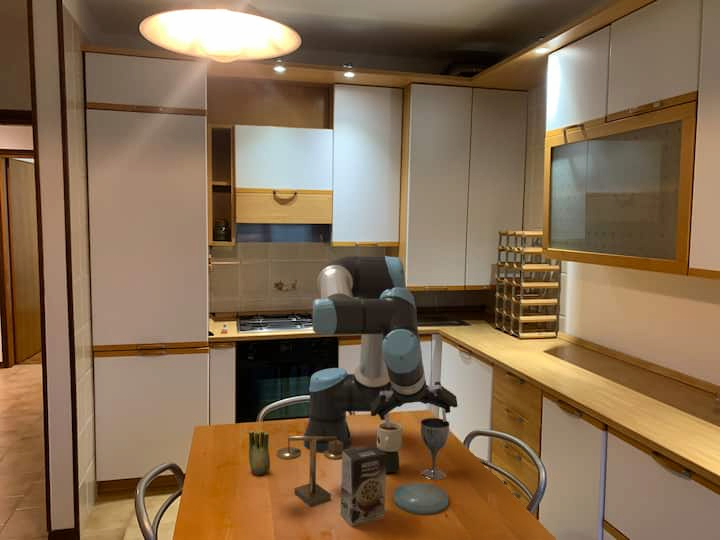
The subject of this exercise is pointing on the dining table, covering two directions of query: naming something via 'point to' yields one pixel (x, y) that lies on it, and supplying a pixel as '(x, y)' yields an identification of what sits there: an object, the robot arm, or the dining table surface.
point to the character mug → (390, 444)
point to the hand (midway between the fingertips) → (416, 419)
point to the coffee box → (363, 485)
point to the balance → (312, 466)
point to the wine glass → (434, 443)
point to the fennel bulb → (259, 453)
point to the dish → (421, 498)
